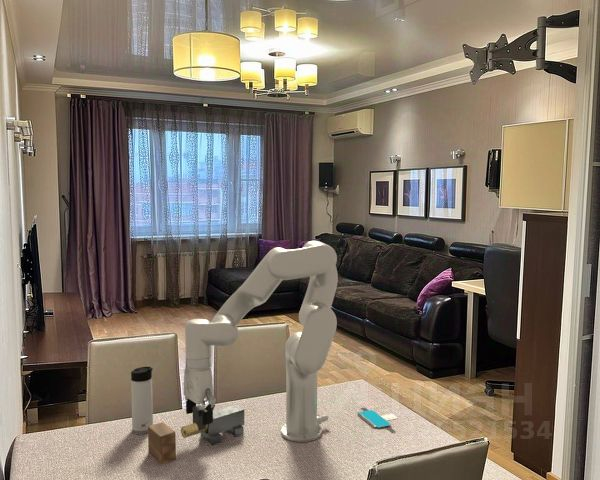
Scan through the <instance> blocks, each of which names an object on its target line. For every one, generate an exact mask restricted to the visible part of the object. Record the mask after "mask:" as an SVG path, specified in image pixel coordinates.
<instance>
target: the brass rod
mask: <svg viewBox="0 0 600 480" xmlns="http://www.w3.org/2000/svg"><path fill="white" fill-rule="evenodd" d="M203 411H204V410H203V407H202V404H199V405H198V404H197V405H196V406H194V407H193V413H192V423H191V424H190V423H189V424H186V425H184V426H182V427H181V428H180V434H181V436H182V438H183V439H186V438H189V437H192V436H196V435H198V434H201V433H202V432H205V431H208V424H207V425H203V424H202V412H203Z"/></svg>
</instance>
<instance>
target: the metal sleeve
mask: <svg viewBox="0 0 600 480" xmlns="http://www.w3.org/2000/svg"><path fill="white" fill-rule="evenodd" d="M244 426H245V409H244V408H243V407H241V406H239V405H238V404H237V403H236V404H232V405H229V406H225V407H222V408H219V409H214V410H213V422H212V423H210V424H208V431H205V432H202V433H200V438H201V439H203V440H204V441H205V442H207V443H208V444H209V445H211V446H215V445H218V444H221V443H222V433H224V432H226V433H227V434H229V435H230V436H232V437H233V438H238V437H241V436H244V432H245V431H244Z"/></svg>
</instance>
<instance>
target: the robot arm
mask: <svg viewBox="0 0 600 480" xmlns="http://www.w3.org/2000/svg"><path fill="white" fill-rule="evenodd" d="M266 253H267V254H266V255H265V256H264V257H263V258H262V260H260V262H259V263H258V264H257V265H256V267H255V268H254V270H253V271H252V272H251V273H250V275H249V276H248V277H247V279H245V280H244V282H243V284H241V286H239V287H238V288H237V289H236V291H235V292H233V293H232V295H230V296H229V298H228V299H226V301H225V302H224V303H223V304H222V306H221V307H220V308H219V310H218V311H217V312H216V314H214V316H213V318H212V319H211V321H210V320H208V319H205V318H192V319H189V320H188V321H186V323H185V325H184V326H185V327H184V329H185V330H184V335H185V336H184V337H185V339H184V341H185V342H184V343H185V344H184V345H185V347H184V348H185V349H184V350H185V366H184V367H185V368H184V373H183V383H182V385H183V395H184V399H185V414H186V415H189V414H193V407H194V406H198V405H201V406H202V407H203V410H204V411H203V412H202V424H203V425H207V424H210V423H212V422H213V411H215V407H216V402H217V398H216V397H215V395H214V385H213V384H214V383H213V382H214V381H213V372H212V366H213V365H212V364H213V362H212V361H213V357H212V349H213V347H212V346H215V347H229V346H232V345H234V344H235V343H236V342H237V341H238V339H239V334H240V332H239V328H238V324H240V322H241V321H242V319H243V318H244V317H245V316H246V315H247V314H248V313H249V312H250V311H251V310H252V309H254V308H255V307H258V306H261V305H262V304H264V303H266V302H267V300H269V298H270V297H271V295H272V294H273V293H274V291H276V289H277V288H278V286H279V285H280V284H281V282H282V281H289V280H296V279H297V280H298V279H303V278H308V277H309V280H308V281H309V282H308V286H307V289H306V292H305V294H304V297H303V301H302V304H301V307H300V310H299V313H298V322H299V323H300V325H301V327H303V328H302V331H297V332H294V333H292V334H291V335H290V336H289V337H288V339H287V340H286V342H285V346H284V347H285V348H284V354H285V355H284V356H285V358H284V359H285V370H286V371H285V373H286V377H285V378H286V383H285V384H286V385H285V386H286V388H285V389H286V391H285V392H286V394H285V396H286V397H285V398H286V400H285V401H286V402H285V406H286V407H285V408H286V410H285V414H286V416H285V418H286V419H285V424H284V425H282V427H281V429H280V433H281V436H282V437H283V438H284V439H286V440H289V441H292V442H296V443H307V442H312V441H315V440H317V439H319V438H320V437H321V436H322V435H323V434H322V433H323V430H322V429H323V428H322V427H321V426H320V425H321V424H322V423H324V422H327V421H329V416H328V414H326V413H325V414H323V415H320V414H319V413H318V372H319V371H320V370H321V369H322V368H323V366H324V365H325V363H326V360H327V358H328V355H329V352H330V349H331V346H332V344H333V341H334V337H335V335H336V330H337V324H338V321H337V316H336V314H335V311H333V309H332V305H333V302H334V298H335V294H336V292H337V291H336V290H337V288H338V282H339V280H338V278H339V276H338V269H337V265H336V264H337V260H338V255H337V253H336V250H335V249H334V247H332V246H331V245H329V244H328V243H327V244H326V243H324V242H322V241H319V240H310V241H307V242H305V244H304V245H303V247H302V248H295V249H286V248H283V247H278V246H277V247H273V248H272V249H271V250H269V251H268V252H266ZM207 403H208V404H207ZM206 404H207V405H206Z"/></svg>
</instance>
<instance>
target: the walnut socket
mask: <svg viewBox="0 0 600 480" xmlns="http://www.w3.org/2000/svg"><path fill="white" fill-rule="evenodd" d="M147 438H148V439H147V441H148V442H147V444H148V449H147V450H148V454H149V456H151V457H152V458H153V459H154V460H155V461H156V462H157V463H159V464H160V465H164V464H167V463H170V462H172V461H175V460H177V450H176V449H177V448H176V447H177V445H176V444H177V441H176V440H177V438H176V431H175V430H174V429H173V428H171V427H170V426H168V425H167V423H165V422H163V421H162V422H158V423H155V424H153V425H151V426H148V433H147Z"/></svg>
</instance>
